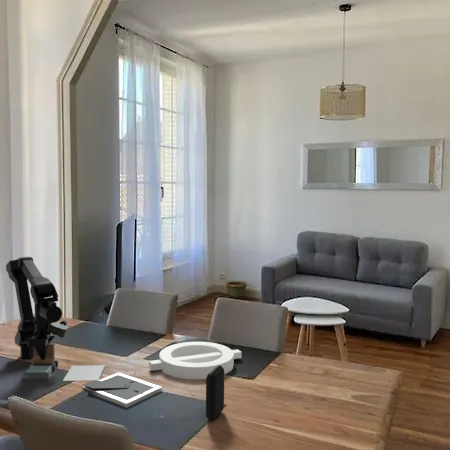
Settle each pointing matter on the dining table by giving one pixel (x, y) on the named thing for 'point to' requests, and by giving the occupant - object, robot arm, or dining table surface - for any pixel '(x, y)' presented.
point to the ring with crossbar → (194, 359)
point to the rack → (39, 375)
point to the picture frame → (122, 389)
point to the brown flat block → (48, 357)
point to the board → (84, 373)
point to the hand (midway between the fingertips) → (44, 358)
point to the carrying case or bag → (214, 393)
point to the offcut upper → (39, 369)
